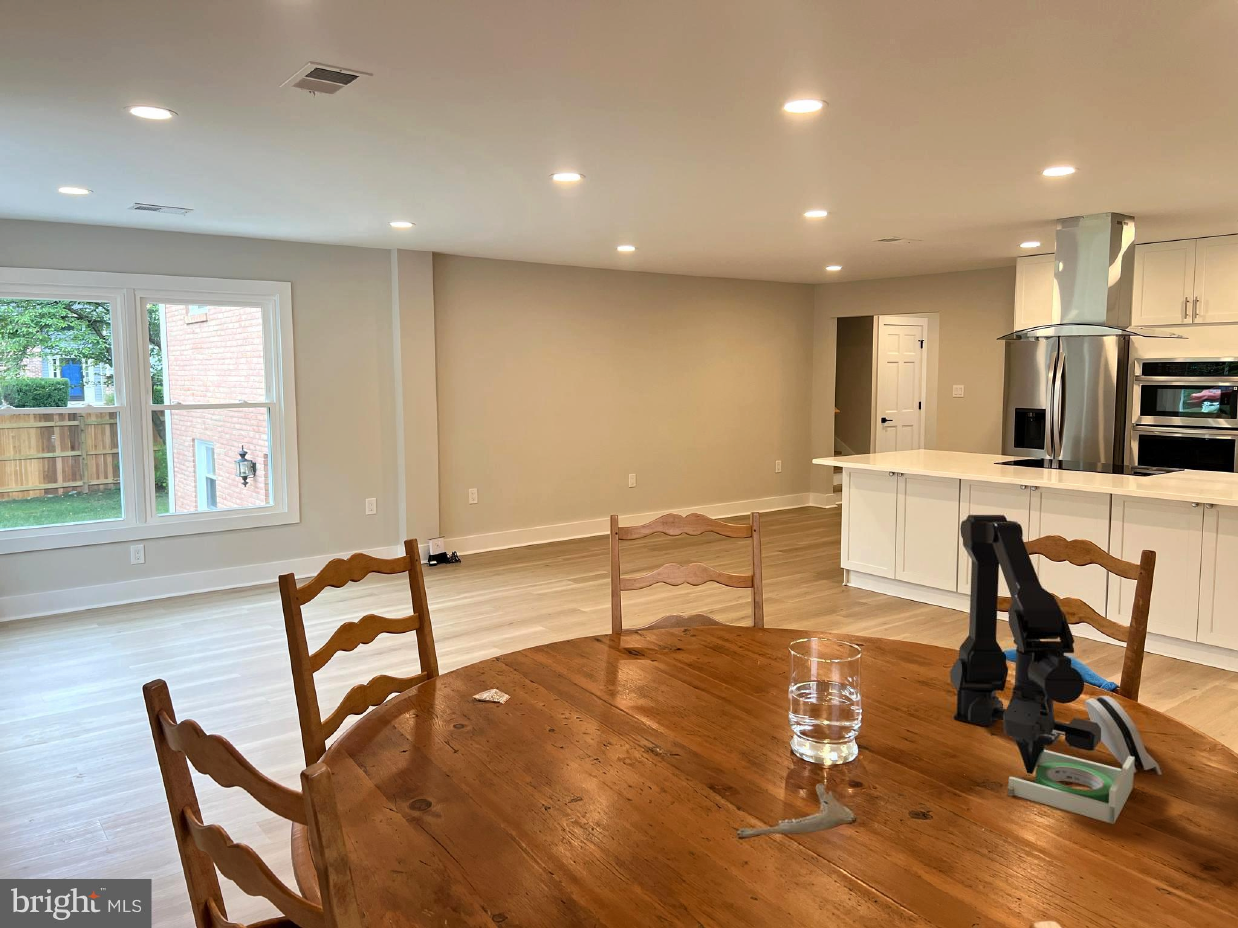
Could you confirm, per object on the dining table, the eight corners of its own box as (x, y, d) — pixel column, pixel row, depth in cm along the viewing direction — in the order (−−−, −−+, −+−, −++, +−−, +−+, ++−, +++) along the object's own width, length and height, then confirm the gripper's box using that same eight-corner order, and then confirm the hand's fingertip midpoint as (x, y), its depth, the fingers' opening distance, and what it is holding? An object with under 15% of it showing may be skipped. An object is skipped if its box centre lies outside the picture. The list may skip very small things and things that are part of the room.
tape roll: (1108, 783, 137) (1109, 767, 137) (1120, 816, 127) (1121, 799, 127) (1032, 772, 141) (1032, 757, 141) (1037, 803, 131) (1038, 786, 131)
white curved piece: (1162, 775, 139) (1142, 718, 139) (1132, 782, 140) (1112, 725, 140) (1123, 733, 156) (1106, 682, 155) (1096, 740, 157) (1079, 689, 156)
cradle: (1006, 795, 133) (1007, 764, 133) (1035, 759, 145) (1036, 731, 145) (1112, 826, 124) (1114, 793, 123) (1133, 785, 136) (1135, 755, 135)
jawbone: (869, 818, 129) (870, 805, 128) (783, 871, 115) (784, 857, 115) (819, 791, 135) (820, 780, 135) (733, 839, 122) (734, 826, 122)
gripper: (957, 680, 137) (954, 773, 138) (1087, 709, 125) (1082, 810, 126) (980, 662, 145) (977, 750, 147) (1104, 687, 133) (1099, 783, 134)
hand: (1030, 772), depth 138 cm, fingers closed
